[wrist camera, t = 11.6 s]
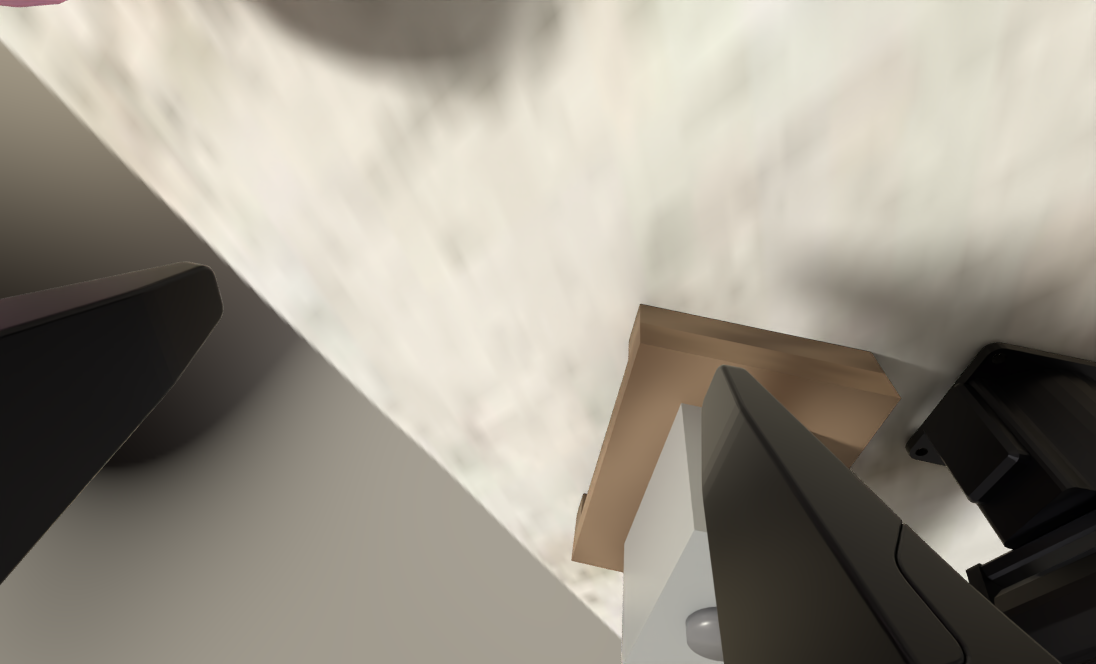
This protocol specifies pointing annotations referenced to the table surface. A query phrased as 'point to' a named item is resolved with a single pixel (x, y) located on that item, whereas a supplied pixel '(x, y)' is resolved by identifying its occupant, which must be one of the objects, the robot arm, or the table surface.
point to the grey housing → (671, 561)
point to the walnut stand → (684, 377)
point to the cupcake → (29, 2)
